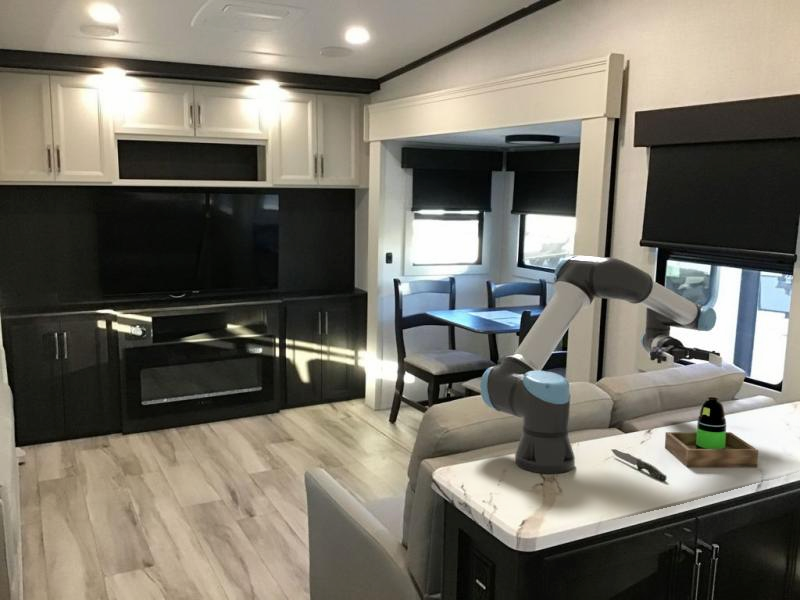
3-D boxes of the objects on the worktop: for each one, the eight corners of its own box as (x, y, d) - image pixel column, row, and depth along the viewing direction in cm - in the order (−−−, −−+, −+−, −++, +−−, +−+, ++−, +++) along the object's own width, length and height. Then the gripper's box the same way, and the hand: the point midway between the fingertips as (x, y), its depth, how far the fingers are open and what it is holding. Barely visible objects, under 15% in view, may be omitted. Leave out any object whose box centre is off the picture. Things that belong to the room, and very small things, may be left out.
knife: (608, 456, 187) (609, 445, 186) (612, 455, 187) (613, 445, 187) (663, 483, 168) (663, 471, 167) (667, 482, 168) (668, 470, 168)
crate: (686, 467, 178) (687, 450, 178) (664, 447, 193) (665, 432, 192) (757, 467, 178) (758, 450, 177) (729, 447, 193) (730, 432, 192)
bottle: (703, 447, 190) (706, 393, 189) (730, 453, 185) (733, 399, 183) (690, 452, 186) (693, 398, 184) (717, 460, 180) (720, 403, 179)
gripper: (707, 361, 218) (739, 375, 197) (627, 359, 218) (651, 373, 197) (708, 337, 217) (741, 349, 196) (628, 335, 217) (652, 347, 196)
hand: (696, 361), depth 196 cm, fingers open, 13 cm apart
